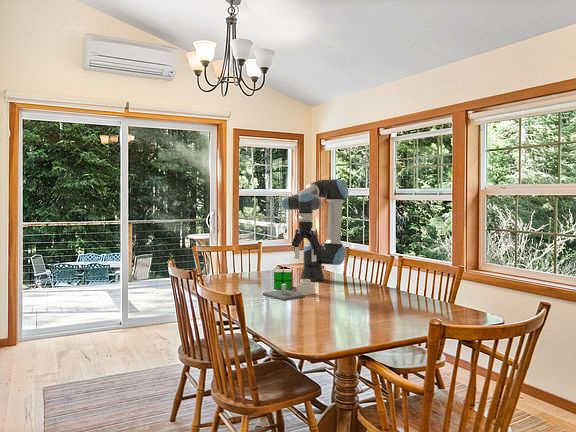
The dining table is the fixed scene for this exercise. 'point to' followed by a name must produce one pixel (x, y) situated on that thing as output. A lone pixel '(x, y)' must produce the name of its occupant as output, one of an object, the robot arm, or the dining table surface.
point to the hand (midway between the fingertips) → (305, 260)
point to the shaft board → (283, 294)
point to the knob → (305, 287)
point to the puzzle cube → (283, 279)
